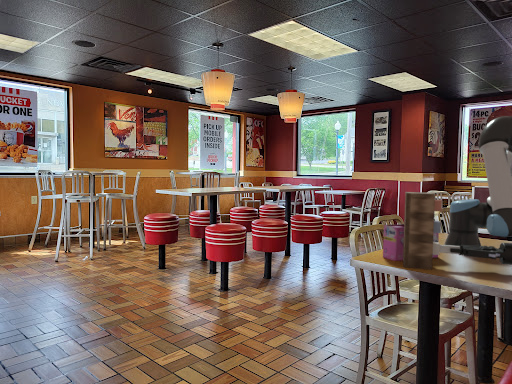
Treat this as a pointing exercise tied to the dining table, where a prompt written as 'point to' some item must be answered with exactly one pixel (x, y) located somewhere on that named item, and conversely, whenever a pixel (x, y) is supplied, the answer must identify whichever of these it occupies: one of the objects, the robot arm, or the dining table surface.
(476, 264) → the dining table surface
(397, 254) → the gum box
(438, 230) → the blue-grey rectangular block
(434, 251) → the white rectangular block
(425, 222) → the brown tall box
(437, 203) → the red key
